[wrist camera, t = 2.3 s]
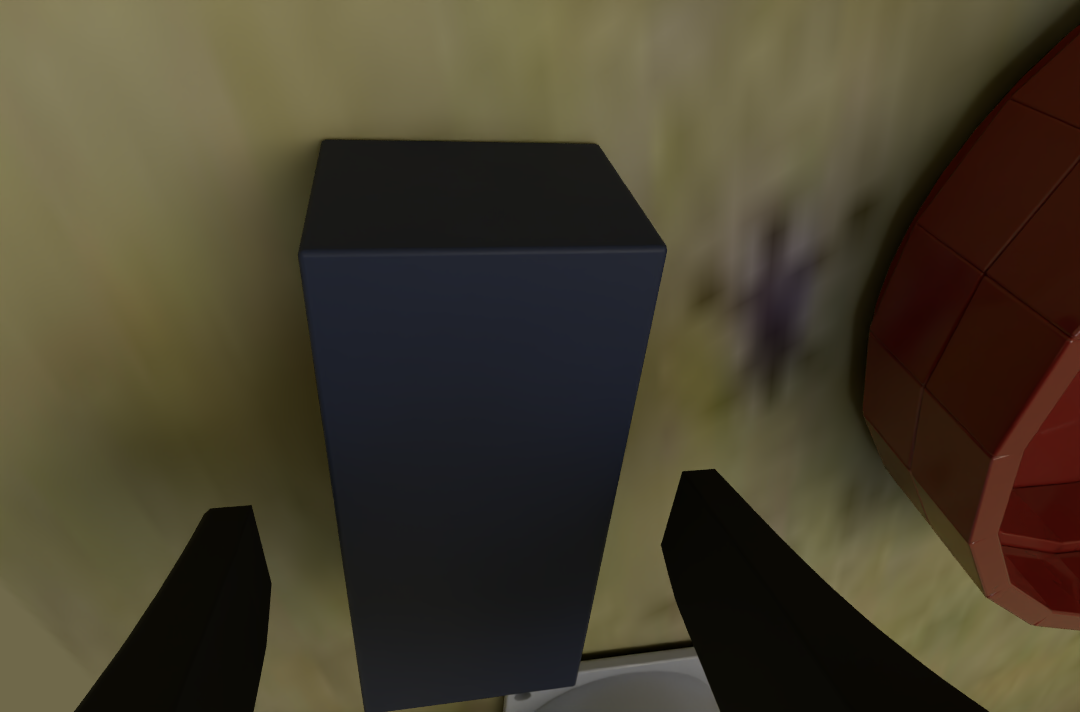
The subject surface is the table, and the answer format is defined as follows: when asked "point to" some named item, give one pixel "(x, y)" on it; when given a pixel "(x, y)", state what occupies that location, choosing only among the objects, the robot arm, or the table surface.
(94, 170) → the table surface
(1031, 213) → the bowl
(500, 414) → the dark blue-grey block
